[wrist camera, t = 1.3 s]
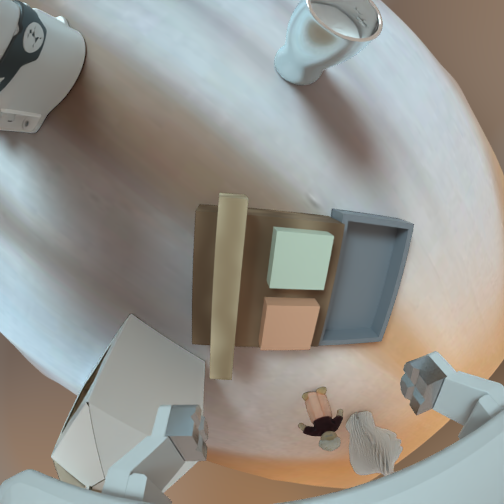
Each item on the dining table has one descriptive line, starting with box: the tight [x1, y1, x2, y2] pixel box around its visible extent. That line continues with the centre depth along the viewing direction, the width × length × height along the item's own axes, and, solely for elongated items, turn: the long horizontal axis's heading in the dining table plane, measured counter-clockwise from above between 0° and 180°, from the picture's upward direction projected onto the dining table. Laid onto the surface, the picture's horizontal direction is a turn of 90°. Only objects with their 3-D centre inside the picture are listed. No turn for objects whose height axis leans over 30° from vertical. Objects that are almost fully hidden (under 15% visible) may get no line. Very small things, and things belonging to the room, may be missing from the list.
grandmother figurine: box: [298, 387, 343, 451], centre depth 38 cm, size 8×4×13 cm, turn 116°
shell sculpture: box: [346, 411, 403, 476], centre depth 39 cm, size 8×8×18 cm
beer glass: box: [274, 0, 383, 85], centre depth 21 cm, size 7×7×15 cm
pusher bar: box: [210, 193, 248, 380], centre depth 28 cm, size 2×20×4 cm, turn 174°
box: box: [318, 209, 414, 346], centre depth 36 cm, size 11×18×4 cm, turn 174°
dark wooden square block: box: [192, 204, 345, 347], centre depth 33 cm, size 16×16×5 cm
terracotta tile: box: [258, 297, 320, 350], centre depth 31 cm, size 6×6×2 cm
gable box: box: [51, 314, 205, 493], centre depth 26 cm, size 22×13×28 cm, turn 139°
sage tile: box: [267, 227, 334, 290], centre depth 29 cm, size 6×6×2 cm
